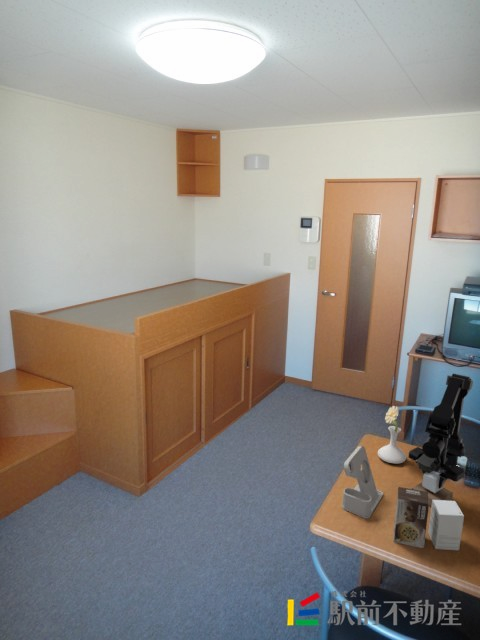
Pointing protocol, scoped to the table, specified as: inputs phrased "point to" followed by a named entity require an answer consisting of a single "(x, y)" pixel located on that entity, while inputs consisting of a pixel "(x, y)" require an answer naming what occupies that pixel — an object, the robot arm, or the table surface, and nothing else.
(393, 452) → the flower in vase
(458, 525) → the supplement box
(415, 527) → the coffee box
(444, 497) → the brown block
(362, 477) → the phone holder
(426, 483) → the grey-blue block
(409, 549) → the table surface
